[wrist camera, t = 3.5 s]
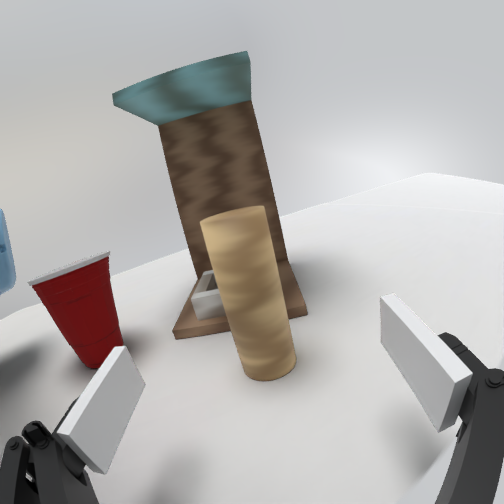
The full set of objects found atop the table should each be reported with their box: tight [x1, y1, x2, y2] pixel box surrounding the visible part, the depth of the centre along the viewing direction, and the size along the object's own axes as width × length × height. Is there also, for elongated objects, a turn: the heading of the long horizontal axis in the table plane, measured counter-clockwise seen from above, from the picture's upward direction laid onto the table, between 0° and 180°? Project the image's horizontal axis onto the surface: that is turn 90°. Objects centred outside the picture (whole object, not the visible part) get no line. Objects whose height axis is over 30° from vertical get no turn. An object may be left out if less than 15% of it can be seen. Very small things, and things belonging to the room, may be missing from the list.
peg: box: [200, 206, 296, 381], centre depth 21 cm, size 5×5×13 cm
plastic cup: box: [28, 251, 123, 368], centre depth 28 cm, size 11×11×12 cm
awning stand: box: [112, 51, 307, 339], centre depth 35 cm, size 15×18×28 cm
